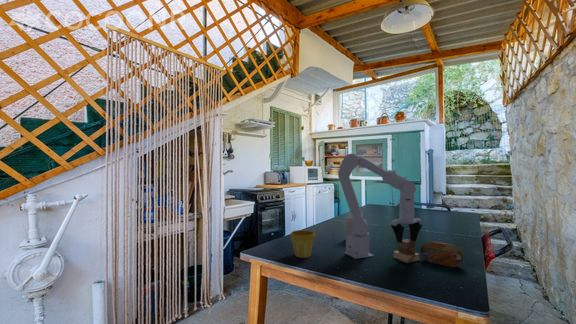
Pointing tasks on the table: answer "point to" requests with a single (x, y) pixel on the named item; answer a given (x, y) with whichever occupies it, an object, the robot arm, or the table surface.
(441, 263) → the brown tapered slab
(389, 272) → the table surface
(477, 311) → the table surface
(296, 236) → the plant pot
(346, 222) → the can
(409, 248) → the walnut block
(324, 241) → the table surface
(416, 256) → the oak block
